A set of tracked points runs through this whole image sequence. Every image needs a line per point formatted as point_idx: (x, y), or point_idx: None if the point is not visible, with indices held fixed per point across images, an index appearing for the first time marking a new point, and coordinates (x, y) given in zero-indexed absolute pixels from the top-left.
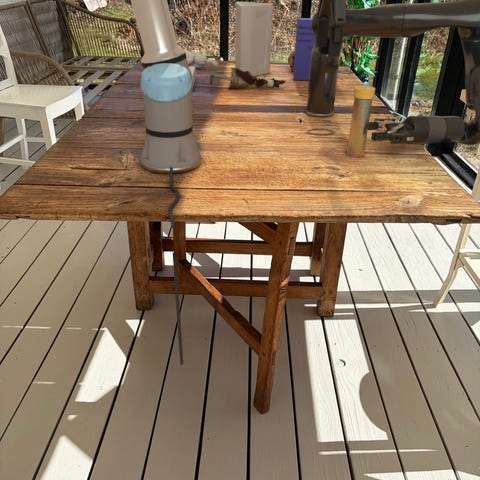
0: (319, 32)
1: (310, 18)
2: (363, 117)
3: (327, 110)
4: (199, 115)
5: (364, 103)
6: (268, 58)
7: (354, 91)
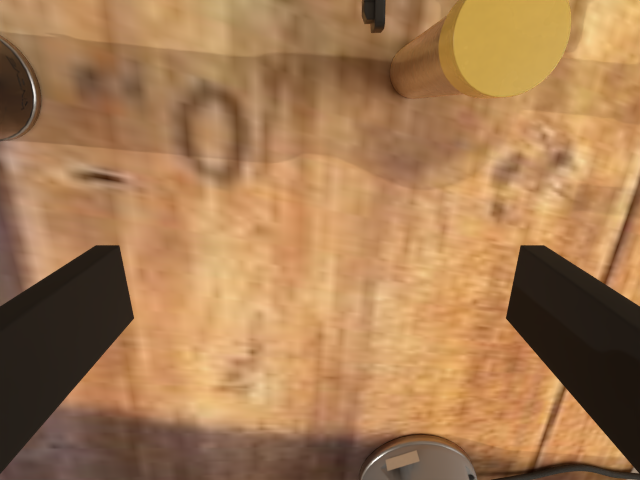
0: (62, 383)
1: None
2: None
3: (14, 66)
4: (93, 433)
5: None
6: None
7: (491, 97)
